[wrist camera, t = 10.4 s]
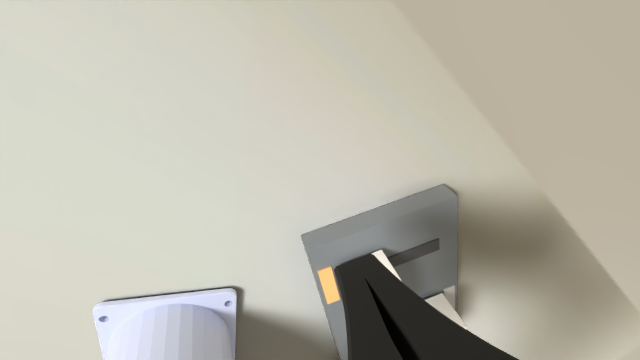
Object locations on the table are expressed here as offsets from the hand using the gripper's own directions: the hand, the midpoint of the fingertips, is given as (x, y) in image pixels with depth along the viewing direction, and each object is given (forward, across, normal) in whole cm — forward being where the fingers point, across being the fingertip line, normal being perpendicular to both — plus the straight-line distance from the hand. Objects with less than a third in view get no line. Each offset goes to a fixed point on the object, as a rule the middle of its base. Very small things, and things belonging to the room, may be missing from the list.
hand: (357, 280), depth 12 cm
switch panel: (+9, -4, +15) cm, 18 cm away
